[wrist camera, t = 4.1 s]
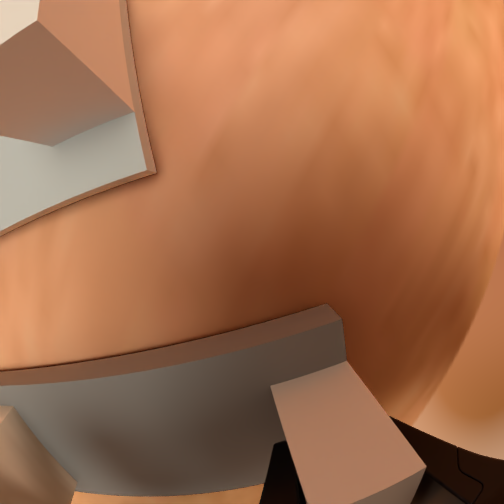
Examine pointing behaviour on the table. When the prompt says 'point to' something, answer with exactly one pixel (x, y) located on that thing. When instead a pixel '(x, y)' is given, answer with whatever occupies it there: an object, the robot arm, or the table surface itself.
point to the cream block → (29, 466)
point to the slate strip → (66, 106)
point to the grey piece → (221, 416)
